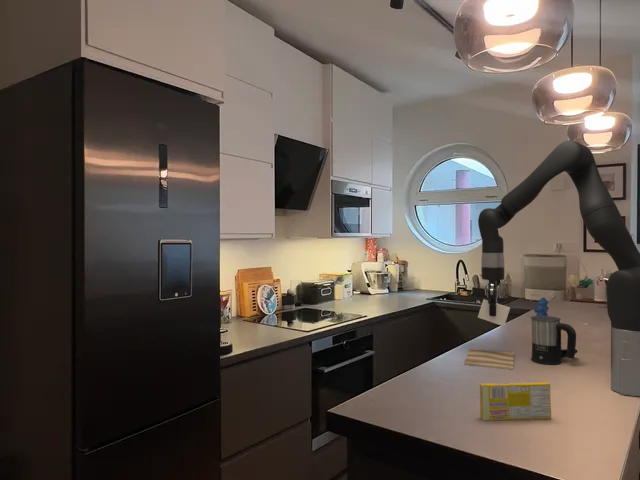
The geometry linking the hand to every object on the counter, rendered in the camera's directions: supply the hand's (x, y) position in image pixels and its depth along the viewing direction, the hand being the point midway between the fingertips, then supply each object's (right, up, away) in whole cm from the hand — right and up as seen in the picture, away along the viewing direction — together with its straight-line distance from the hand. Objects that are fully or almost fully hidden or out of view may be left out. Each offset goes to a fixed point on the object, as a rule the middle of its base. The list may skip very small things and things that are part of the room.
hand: (493, 315), depth 163 cm
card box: (-1, -2, 0) cm, 2 cm away
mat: (-2, -15, -3) cm, 15 cm away
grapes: (+47, -14, +65) cm, 82 cm away
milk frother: (+20, -15, -3) cm, 25 cm away
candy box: (-15, -16, -54) cm, 58 cm away
